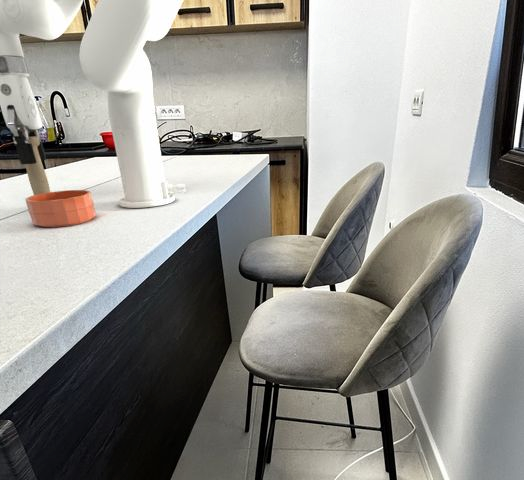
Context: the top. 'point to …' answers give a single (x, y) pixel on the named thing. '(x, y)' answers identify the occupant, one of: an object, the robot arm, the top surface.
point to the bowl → (61, 208)
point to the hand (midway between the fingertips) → (34, 161)
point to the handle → (37, 171)
